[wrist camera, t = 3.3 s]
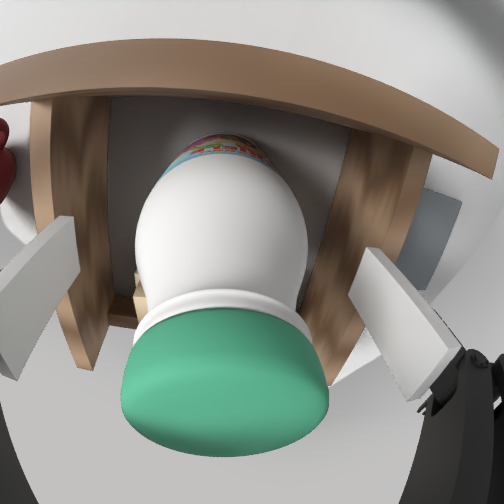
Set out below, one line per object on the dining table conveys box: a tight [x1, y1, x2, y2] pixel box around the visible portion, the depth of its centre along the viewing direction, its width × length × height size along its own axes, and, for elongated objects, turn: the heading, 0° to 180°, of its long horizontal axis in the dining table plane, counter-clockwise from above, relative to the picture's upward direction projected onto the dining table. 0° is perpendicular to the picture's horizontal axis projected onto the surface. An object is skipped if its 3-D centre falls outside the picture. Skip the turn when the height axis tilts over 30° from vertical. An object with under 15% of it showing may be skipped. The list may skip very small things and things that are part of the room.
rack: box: [0, 39, 499, 386], centre depth 18 cm, size 23×23×14 cm
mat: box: [395, 188, 462, 290], centre depth 27 cm, size 12×12×1 cm
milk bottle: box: [121, 132, 329, 457], centre depth 14 cm, size 8×8×20 cm
